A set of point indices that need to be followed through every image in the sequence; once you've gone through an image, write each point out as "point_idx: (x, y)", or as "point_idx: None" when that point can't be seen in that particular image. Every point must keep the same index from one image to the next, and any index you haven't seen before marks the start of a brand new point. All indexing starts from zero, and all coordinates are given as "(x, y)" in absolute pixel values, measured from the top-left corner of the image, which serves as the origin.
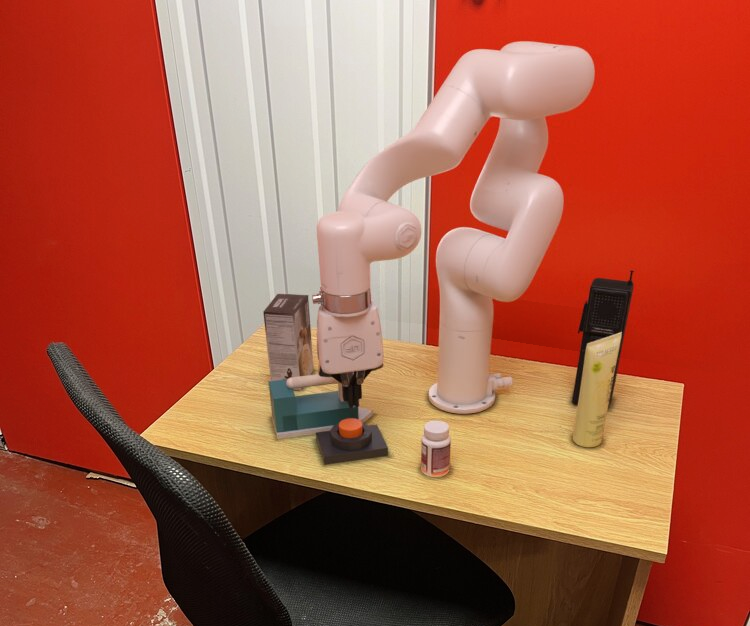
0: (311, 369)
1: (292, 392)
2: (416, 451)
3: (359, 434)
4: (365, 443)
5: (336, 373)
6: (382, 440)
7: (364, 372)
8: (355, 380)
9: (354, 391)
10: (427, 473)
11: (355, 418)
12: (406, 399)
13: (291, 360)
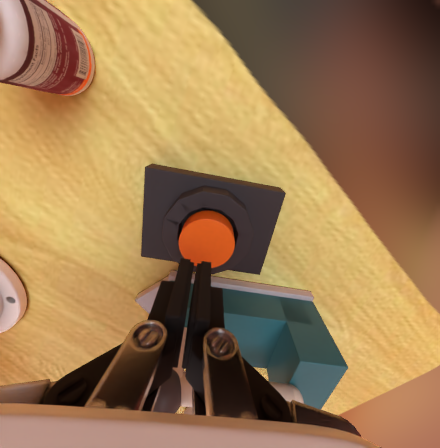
0: (188, 412)
1: (297, 374)
2: (88, 155)
3: (195, 214)
4: (189, 192)
5: (315, 429)
6: (147, 198)
7: (100, 383)
8: (167, 348)
9: (186, 299)
10: (81, 32)
11: None
12: (68, 313)
13: None
